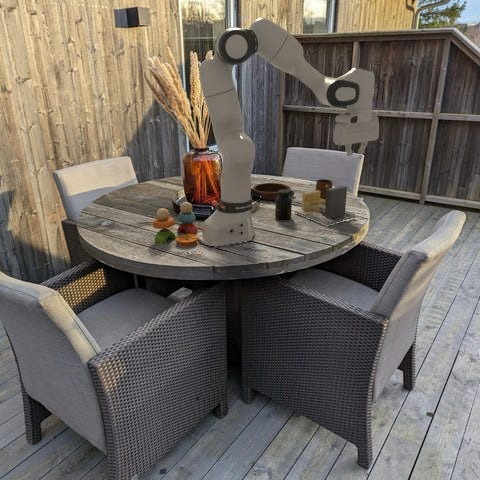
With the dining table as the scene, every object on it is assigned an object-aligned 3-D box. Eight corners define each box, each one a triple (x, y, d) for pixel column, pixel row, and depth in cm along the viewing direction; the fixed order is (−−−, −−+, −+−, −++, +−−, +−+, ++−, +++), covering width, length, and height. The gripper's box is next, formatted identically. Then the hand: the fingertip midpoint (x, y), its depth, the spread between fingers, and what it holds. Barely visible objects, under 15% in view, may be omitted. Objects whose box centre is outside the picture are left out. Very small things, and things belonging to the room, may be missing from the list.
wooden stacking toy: (187, 250, 156) (185, 217, 151) (149, 241, 164) (146, 209, 159) (214, 233, 171) (213, 203, 166) (178, 226, 179) (176, 197, 174)
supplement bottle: (272, 219, 185) (272, 192, 180) (278, 214, 190) (279, 187, 186) (287, 222, 182) (288, 194, 177) (293, 217, 187) (294, 189, 183)
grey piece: (327, 226, 176) (328, 206, 173) (294, 213, 192) (295, 194, 188) (355, 219, 184) (357, 199, 181) (322, 206, 200) (323, 188, 196)
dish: (247, 192, 223) (247, 183, 221) (290, 191, 224) (291, 182, 222) (250, 203, 207) (250, 193, 205) (297, 201, 208) (297, 191, 206)
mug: (335, 205, 201) (336, 185, 197) (318, 206, 201) (320, 186, 197) (329, 198, 212) (330, 178, 209) (313, 198, 212) (314, 179, 208)
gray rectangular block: (328, 219, 179) (330, 190, 175) (317, 214, 184) (319, 186, 180) (344, 214, 184) (347, 186, 179) (333, 210, 189) (335, 183, 184)
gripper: (371, 113, 166) (368, 150, 171) (332, 117, 155) (329, 156, 161) (385, 114, 161) (381, 152, 166) (345, 119, 150) (342, 159, 156)
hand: (355, 154), depth 163 cm, fingers open, 5 cm apart
